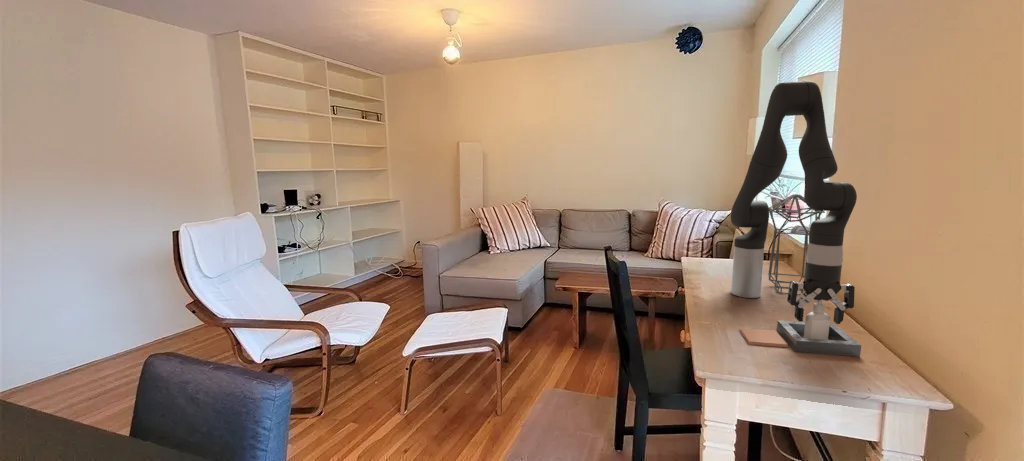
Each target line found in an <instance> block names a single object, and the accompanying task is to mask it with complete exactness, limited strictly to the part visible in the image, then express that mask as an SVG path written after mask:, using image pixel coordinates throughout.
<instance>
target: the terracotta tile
mask: <svg viewBox="0 0 1024 461" xmlns="http://www.w3.org/2000/svg"><path fill="white" fill-rule="evenodd" d="M739 329H740V330H739V332H740V333H741V335H742V336H743V338H744V339H745V341H746V342H747V344H748V345H751V346H753V345H754V346H765V347H778V348H779V347H780V348H788V345H789V344H788V343H787V342H786V340H785V339H784V338H783V337H782V336H781V335H780V334H779V332H778V331H777V330H769V329H754V328H739Z"/></svg>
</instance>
